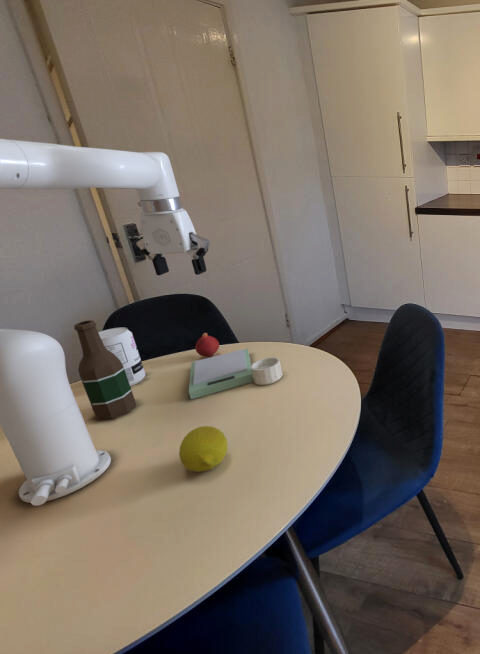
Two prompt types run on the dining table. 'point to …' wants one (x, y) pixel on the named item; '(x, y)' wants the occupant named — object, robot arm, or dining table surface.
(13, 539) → the dining table surface
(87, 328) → the beer bottle
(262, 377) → the bowl
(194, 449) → the lemon
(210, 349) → the onion
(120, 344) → the supplement can
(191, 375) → the scale
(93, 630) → the dining table surface
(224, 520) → the dining table surface
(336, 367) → the dining table surface
